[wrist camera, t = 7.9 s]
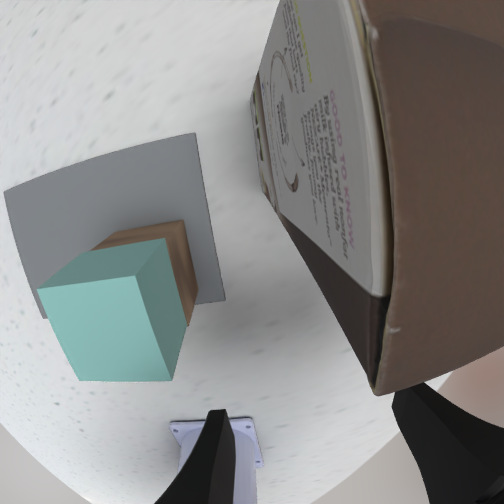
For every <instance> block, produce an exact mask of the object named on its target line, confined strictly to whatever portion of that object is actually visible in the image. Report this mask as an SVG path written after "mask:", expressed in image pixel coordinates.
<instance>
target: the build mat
mask: <svg viewBox="0 0 504 504" xmlns="http://www.w3.org/2000/svg"><path fill="white" fill-rule="evenodd" d="M4 197H5V202H6V207H7V211H8V216H9V220H10V224H11V228H12V231H13V235H14V239H15V242H16V246H17V249H18V252H19V256H20V259H21V262H22V265H23V268H24V271H25V274H26V277H27V280H28V282H29V285H30V288H31V290H32V293H33V296H34V298H35V301H36V303H37V306H38V308H39V310H40V313H41V315H42V317H43V319H46V318H48V317H47V314H46V312H45V310H44V307H43V305H42V302H41V300H40V297H39V295H38V292H37V288H38V287H40V286H41V285H42V284H43V283H44V282H46V281H47V280H48V279H49V278H51V277H52V276H53V275H54V274H56V273H57V272H58V271H59V270H61V269H62V268H63V267H64V266H66V265H67V264H68V263H70V262H71V261H72V260H74V259H75V258H76V257H77V256H79V255H80V254H81V253H83V252H88V251H90V250H91V249H93V248H94V247H95V246H97V245H98V244H99V243H101V242H102V241H103V240H105V239H106V238H107V237H109V236H110V235H111V234H113V233H114V232H117V231H122V230H127V229H133V228H138V227H143V226H149V225H154V224H160V223H165V222H171V221H177V220H183V219H184V224H185V229H186V234H187V239H188V244H189V248H190V253H191V257H192V262H193V267H194V271H195V275H196V280H197V284H198V288H199V290H198V294H197V297H196V301H195V305H196V304H204V303H212V302H219V301H225V294H224V289H223V284H222V279H221V274H220V269H219V264H218V259H217V254H216V249H215V244H214V238H213V233H212V228H211V222H210V217H209V211H208V206H207V200H206V195H205V189H204V183H203V177H202V171H201V165H200V159H199V153H198V147H197V141H196V134H195V133H190V134H185V135H181V136H176V137H171V138H167V139H162V140H158V141H154V142H150V143H146V144H142V145H138V146H134V147H130V148H126V149H123V150H119V151H115V152H112V153H109V154H105V155H102V156H98V157H95V158H92V159H89V160H86V161H83V162H80V163H77V164H74V165H71V166H68V167H65V168H62V169H59V170H56V171H54V172H51V173H48V174H46V175H43V176H40V177H38V178H35V179H33V180H30V181H28V182H25V183H23V184H20V185H18V186H16V187H13V188H11V189H9V190H6V191H4Z"/></svg>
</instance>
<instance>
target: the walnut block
mask: <svg viewBox="0 0 504 504" xmlns="http://www.w3.org/2000/svg"><path fill="white" fill-rule="evenodd" d="M161 238H165V240H166V244H167V249H168V253H169V257H170V261H171V265H172V269H173V273H174V277H175V281H176V285H177V289H178V293H179V296H180V300H181V304H182V307H183V311H184V314H185V318H186V321H187V326H189V323H190V319H191V316H192V312H193V308H194V305H195V301H196V297H197V294H198V290H199V288H198V284H197V280H196V275H195V271H194V267H193V262H192V257H191V253H190V248H189V244H188V239H187V234H186V229H185V224H184V219H183V220H177V221H171V222H165V223H160V224H154V225H149V226H143V227H138V228H133V229H127V230H122V231H117V232H114V233H113V234H111V235H110V236H109V237H107V238H106V239H105V240H103V241H102V242H101V243H99V244H98V245H97V246H95V247H94V248H93V249H91V250H90V251H94V250H99V249H105V248H110V247H116V246H121V245H127V244H132V243H138V242H144V241H150V240H155V239H161Z"/></svg>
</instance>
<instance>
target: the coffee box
mask: <svg viewBox="0 0 504 504" xmlns="http://www.w3.org/2000/svg"><path fill="white" fill-rule="evenodd" d="M250 103H251V111H252V119H253V127H254V134H255V142H256V150H257V158H258V166H259V173H260V179H261V185H262V190H263V192H264V194H265V196H266V197H267V199H268V200H269V202H270V203H271V205H272V207H273V209H274V210H275V212H276V213H277V215H278V217H279V219H280V220H281V222H282V224H283V226H284V227H285V229H286V230H287V232H288V233H289V235H290V237H291V239H292V241H293V242H294V244H295V246H296V247H297V249H298V251H299V252H300V254H301V256H302V258H303V259H304V261H305V263H306V265H307V266H308V268H309V270H310V272H311V273H312V275H313V277H314V279H315V280H316V282H317V284H318V286H319V287H320V289H321V291H322V293H323V295H324V296H325V298H326V300H327V302H328V304H329V306H330V307H331V309H332V311H333V313H334V315H335V317H336V318H337V320H338V322H339V324H340V326H341V328H342V330H343V331H344V333H345V335H346V337H347V339H348V341H349V343H350V345H351V346H352V348H353V350H354V352H355V354H356V356H357V358H358V360H359V361H360V363H361V365H362V367H363V369H364V371H365V372H366V374H367V378H368V382H369V384H370V387H371V389H372V391H373V393H374V395H376V396H382V395H386V394H390V393H393V392H396V391H399V390H402V389H405V388H408V387H411V386H414V385H417V384H420V383H423V382H425V381H428V380H431V379H433V378H436V377H438V376H441V375H443V374H446V373H448V372H450V371H453V370H455V369H457V368H460V367H462V366H464V365H466V364H468V363H470V362H473V361H475V360H477V359H479V358H481V357H483V356H485V355H487V354H489V353H491V352H493V351H495V350H497V349H499V348H501V347H503V346H504V0H280V2H279V4H278V7H277V11H276V14H275V17H274V20H273V24H272V27H271V30H270V33H269V36H268V40H267V43H266V46H265V50H264V53H263V57H262V60H261V64H260V67H259V71H258V73H257V76H256V80H255V83H254V87H253V91H252V94H251V98H250Z"/></svg>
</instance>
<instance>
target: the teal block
mask: <svg viewBox="0 0 504 504" xmlns="http://www.w3.org/2000/svg"><path fill="white" fill-rule="evenodd" d="M37 292H38V295H39V297H40V300H41V302H42V305H43V307H44V310H45V312H46V314H47V317H48V319H49V321H50V324H51V326H52V328H53V330H54V332H55V335H56V337H57V339H58V341H59V343H60V345H61V347H62V349H63V351H64V353H65V355H66V357H67V359H68V361H69V363H70V365H71V366H72V368H73V370H74V372H75V374H76V376H77V377H78V379H79V381H99V382H154V381H172V379H173V375H174V371H175V367H176V364H177V360H178V356H179V352H180V348H181V345H182V341H183V337H184V334H185V330H186V326H187V321H186V318H185V314H184V311H183V307H182V304H181V300H180V296H179V293H178V289H177V285H176V281H175V277H174V273H173V269H172V265H171V261H170V257H169V253H168V249H167V244H166V240H165V238H161V239H155V240H150V241H144V242H138V243H132V244H127V245H121V246H116V247H110V248H105V249H99V250H94V251H88V252H83V253H81V254H80V255H79V256H77V257H76V258H75V259H74V260H72V261H71V262H70V263H68V264H67V265H66V266H64V267H63V268H62V269H61V270H59V271H58V272H57V273H56V274H54V275H53V276H52V277H51V278H49V279H48V280H47V281H46V282H44V283H43V284H42V285H41V286H40V287H38V288H37Z"/></svg>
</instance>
